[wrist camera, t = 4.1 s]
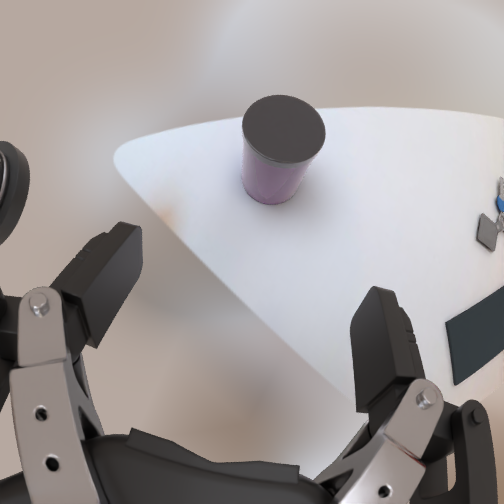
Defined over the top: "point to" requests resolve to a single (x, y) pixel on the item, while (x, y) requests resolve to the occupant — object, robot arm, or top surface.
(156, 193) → the top surface
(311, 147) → the tin
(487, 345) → the mat
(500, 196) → the key chain
